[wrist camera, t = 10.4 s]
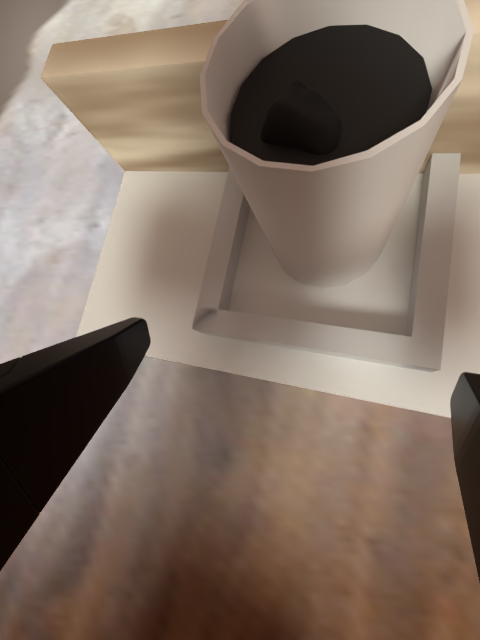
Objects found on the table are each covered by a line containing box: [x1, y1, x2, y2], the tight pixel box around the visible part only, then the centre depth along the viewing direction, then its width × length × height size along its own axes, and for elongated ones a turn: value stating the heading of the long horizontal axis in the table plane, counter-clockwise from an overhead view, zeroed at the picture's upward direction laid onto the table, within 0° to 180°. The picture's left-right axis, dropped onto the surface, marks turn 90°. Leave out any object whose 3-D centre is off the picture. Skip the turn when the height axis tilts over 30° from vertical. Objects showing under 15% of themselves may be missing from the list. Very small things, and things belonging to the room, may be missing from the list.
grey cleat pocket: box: [76, 153, 480, 418], centre depth 19 cm, size 12×22×4 cm, turn 78°
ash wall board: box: [40, 0, 480, 174], centre depth 17 cm, size 2×22×9 cm, turn 78°
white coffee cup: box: [200, 0, 474, 289], centre depth 13 cm, size 7×7×10 cm
